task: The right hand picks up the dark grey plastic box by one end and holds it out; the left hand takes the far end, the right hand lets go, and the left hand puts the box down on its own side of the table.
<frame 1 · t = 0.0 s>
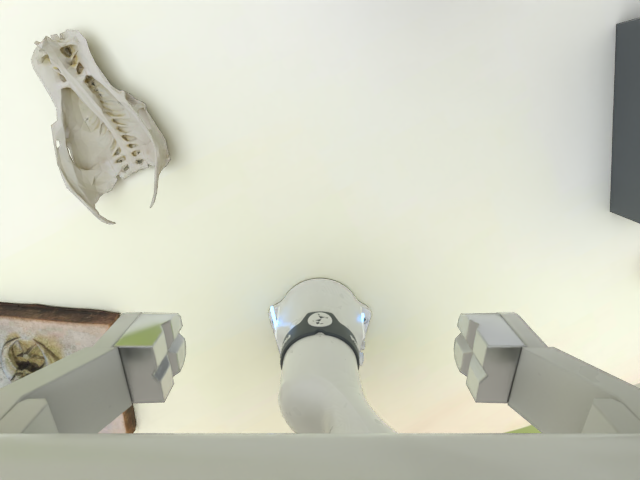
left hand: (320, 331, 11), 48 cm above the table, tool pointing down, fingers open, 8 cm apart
box: (632, 121, 54), on the table
plaque: (53, 368, 71), on the table
anatomical model: (115, 125, 54), on the table
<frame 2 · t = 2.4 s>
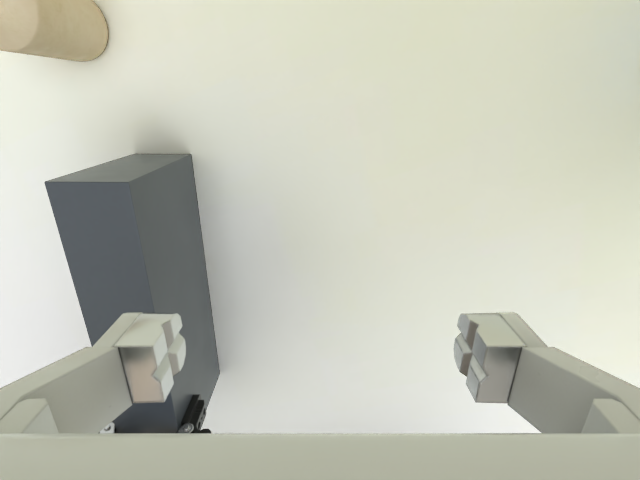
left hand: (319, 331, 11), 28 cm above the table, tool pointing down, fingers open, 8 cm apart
box: (182, 277, 41), on the table, touching right hand
candle: (78, 27, 32), on the table
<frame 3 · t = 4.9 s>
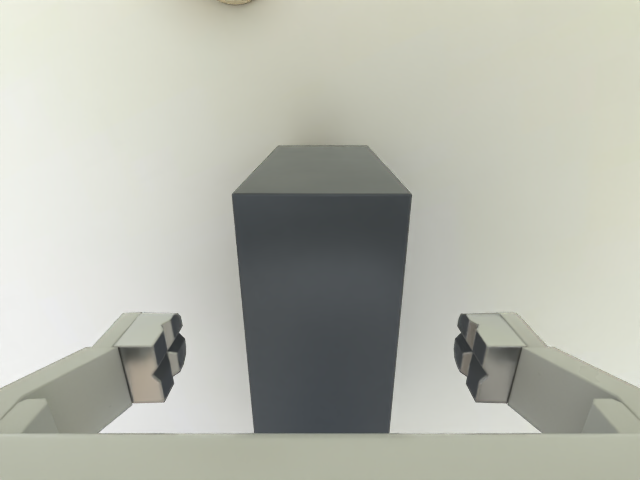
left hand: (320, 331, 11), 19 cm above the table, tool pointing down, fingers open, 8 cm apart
box: (322, 328, 28), point 4 cm above the table, touching right hand
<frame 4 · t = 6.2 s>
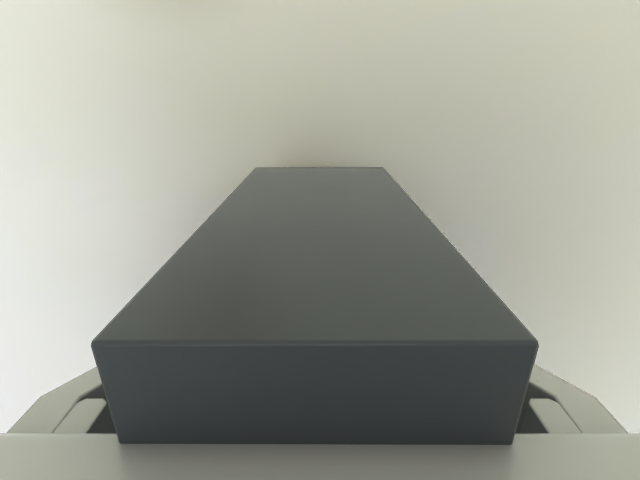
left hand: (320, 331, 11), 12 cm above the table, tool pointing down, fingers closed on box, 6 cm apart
box: (320, 403, 21), point 4 cm above the table, touching left hand, right hand
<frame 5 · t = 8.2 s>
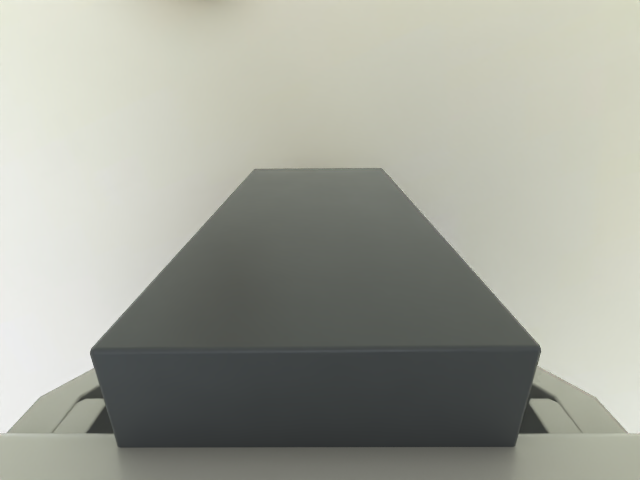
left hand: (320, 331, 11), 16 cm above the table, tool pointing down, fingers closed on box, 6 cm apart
box: (319, 404, 21), point 9 cm above the table, touching left hand
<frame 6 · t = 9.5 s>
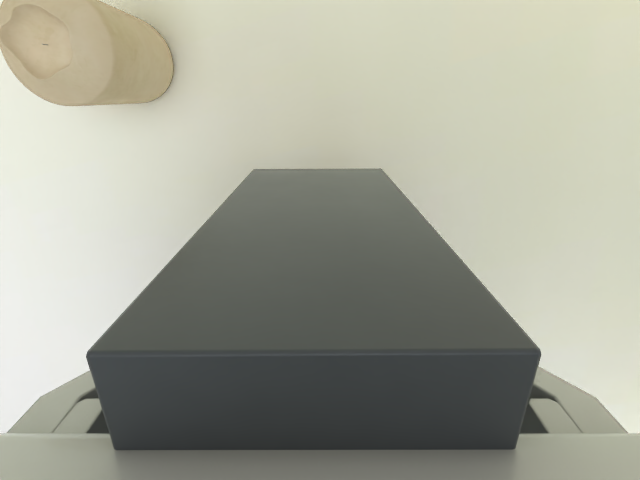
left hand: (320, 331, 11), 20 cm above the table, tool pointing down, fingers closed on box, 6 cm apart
box: (319, 405, 21), point 13 cm above the table, touching left hand
candle: (136, 62, 26), on the table
when the left hand's fingers open (9 cm above the table, at t = 12.7 s): box stays where it is, on the table.
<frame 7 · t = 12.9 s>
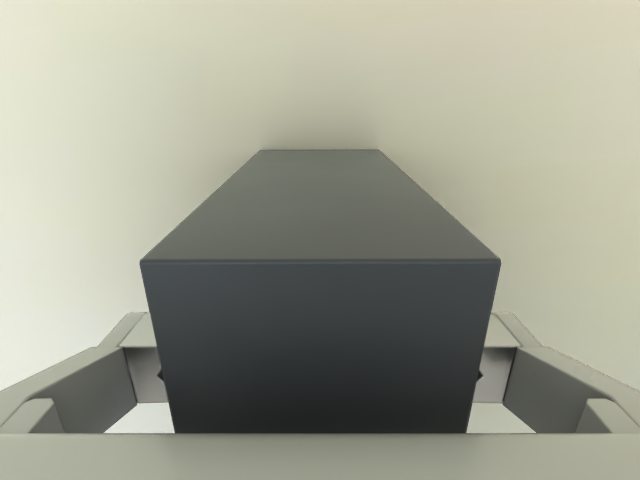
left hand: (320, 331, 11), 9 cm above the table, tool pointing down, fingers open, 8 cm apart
box: (320, 377, 22), on the table
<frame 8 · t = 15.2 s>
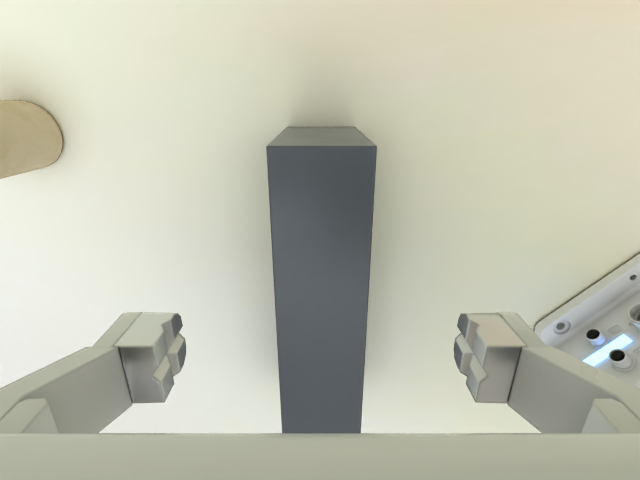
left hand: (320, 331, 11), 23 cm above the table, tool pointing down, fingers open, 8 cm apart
box: (321, 274, 35), on the table
candle: (32, 134, 30), on the table
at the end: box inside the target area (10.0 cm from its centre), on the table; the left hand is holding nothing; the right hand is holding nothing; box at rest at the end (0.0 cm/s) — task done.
